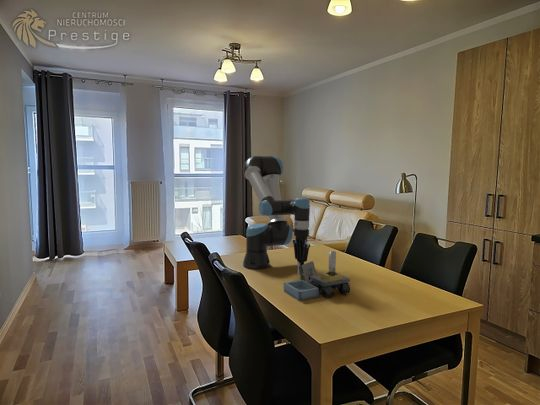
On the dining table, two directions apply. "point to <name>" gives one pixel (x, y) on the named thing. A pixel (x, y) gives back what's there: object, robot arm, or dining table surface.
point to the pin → (332, 263)
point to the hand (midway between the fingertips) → (300, 274)
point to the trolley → (331, 283)
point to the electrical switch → (307, 271)
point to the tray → (301, 290)
